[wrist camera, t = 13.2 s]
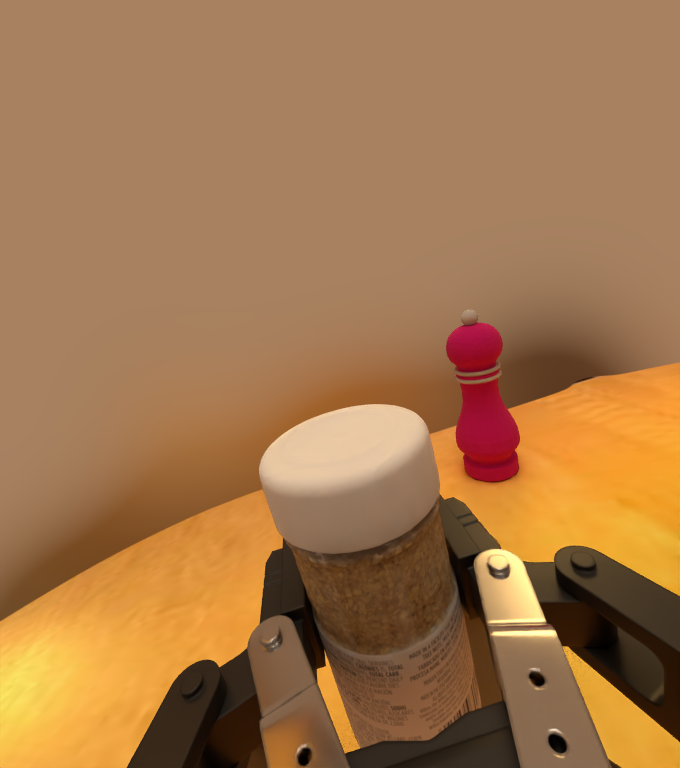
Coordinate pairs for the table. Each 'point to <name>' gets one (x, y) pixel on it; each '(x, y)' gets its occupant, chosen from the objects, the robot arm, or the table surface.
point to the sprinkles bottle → (375, 567)
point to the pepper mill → (482, 402)
